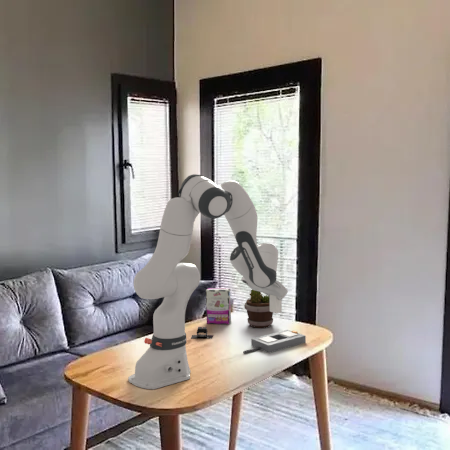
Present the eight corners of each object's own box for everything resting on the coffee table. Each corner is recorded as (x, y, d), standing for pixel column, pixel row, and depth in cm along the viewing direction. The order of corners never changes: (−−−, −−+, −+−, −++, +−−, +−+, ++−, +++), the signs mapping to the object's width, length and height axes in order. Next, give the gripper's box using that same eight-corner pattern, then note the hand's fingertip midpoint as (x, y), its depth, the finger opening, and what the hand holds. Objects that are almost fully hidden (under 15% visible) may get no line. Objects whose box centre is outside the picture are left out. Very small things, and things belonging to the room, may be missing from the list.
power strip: (252, 357, 202) (252, 348, 202) (234, 350, 211) (234, 341, 210) (305, 342, 219) (305, 333, 218) (287, 336, 227) (287, 328, 227)
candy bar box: (231, 321, 252) (230, 288, 250) (229, 324, 247) (229, 290, 246) (208, 321, 254) (207, 287, 252) (206, 323, 249) (205, 289, 247)
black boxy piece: (217, 336, 232) (217, 325, 232) (215, 341, 225) (215, 330, 224) (189, 335, 233) (189, 325, 233) (186, 340, 226) (186, 330, 225)
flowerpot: (259, 319, 256) (258, 278, 254) (283, 325, 244) (282, 282, 242) (237, 325, 246) (237, 283, 244) (261, 332, 235) (260, 287, 233)
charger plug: (276, 313, 214) (275, 294, 214) (269, 311, 218) (269, 292, 217) (281, 312, 216) (281, 293, 215) (275, 310, 219) (275, 291, 219)
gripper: (279, 274, 203) (298, 296, 209) (246, 267, 219) (264, 287, 226) (270, 287, 201) (289, 308, 207) (238, 279, 217) (256, 299, 224)
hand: (276, 297), depth 217 cm, fingers closed on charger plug, 4 cm apart
